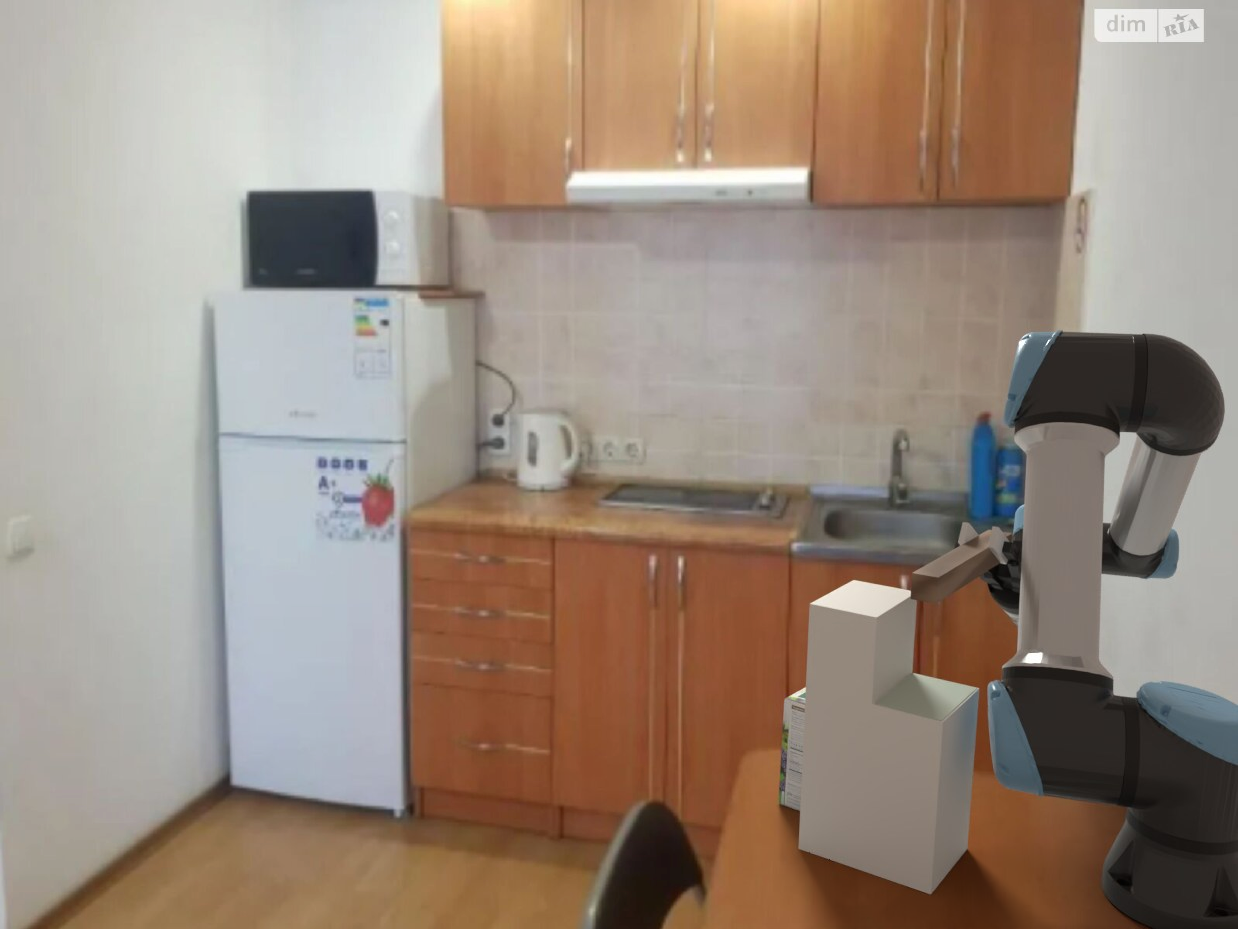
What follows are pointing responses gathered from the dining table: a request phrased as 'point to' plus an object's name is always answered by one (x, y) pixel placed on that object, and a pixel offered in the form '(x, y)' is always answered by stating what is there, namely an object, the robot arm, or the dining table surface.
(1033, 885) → the dining table surface
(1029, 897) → the dining table surface
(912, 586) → the walnut bar
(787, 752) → the syrup box
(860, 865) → the step stand
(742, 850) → the dining table surface
